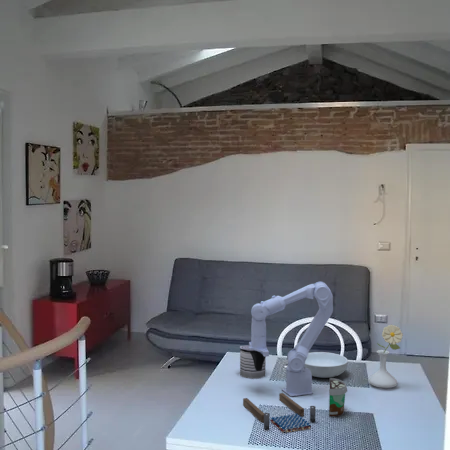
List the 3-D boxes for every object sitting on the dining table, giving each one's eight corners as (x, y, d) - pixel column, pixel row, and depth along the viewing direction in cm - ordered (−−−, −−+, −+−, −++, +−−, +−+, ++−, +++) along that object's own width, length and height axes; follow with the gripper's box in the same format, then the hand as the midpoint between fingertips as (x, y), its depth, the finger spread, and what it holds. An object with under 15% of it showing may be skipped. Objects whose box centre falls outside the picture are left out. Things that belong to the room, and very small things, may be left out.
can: (234, 375, 224) (234, 347, 224) (250, 368, 233) (250, 341, 232) (255, 381, 217) (255, 352, 216) (271, 374, 226) (271, 346, 225)
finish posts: (313, 420, 178) (313, 405, 178) (316, 422, 177) (316, 407, 176) (262, 428, 172) (263, 413, 171) (265, 430, 170) (265, 415, 170)
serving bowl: (311, 363, 240) (311, 349, 240) (355, 372, 228) (355, 357, 227) (288, 376, 223) (289, 360, 223) (335, 386, 211) (335, 369, 211)
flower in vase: (366, 388, 209) (367, 325, 208) (369, 379, 219) (370, 319, 218) (400, 393, 204) (402, 328, 203) (402, 383, 214) (403, 322, 213)
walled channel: (282, 399, 197) (282, 392, 196) (304, 415, 182) (304, 408, 181) (243, 405, 191) (243, 398, 191) (261, 422, 176) (261, 415, 176)
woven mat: (268, 422, 177) (268, 416, 177) (297, 418, 181) (297, 412, 181) (282, 435, 168) (282, 429, 167) (312, 430, 171) (312, 424, 171)
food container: (347, 419, 179) (348, 390, 178) (329, 418, 180) (329, 389, 179) (346, 406, 191) (347, 378, 190) (329, 404, 192) (329, 377, 191)
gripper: (241, 331, 209) (241, 365, 210) (256, 340, 196) (256, 376, 196) (258, 330, 212) (258, 363, 213) (274, 339, 198) (273, 374, 199)
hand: (258, 369), depth 205 cm, fingers closed
